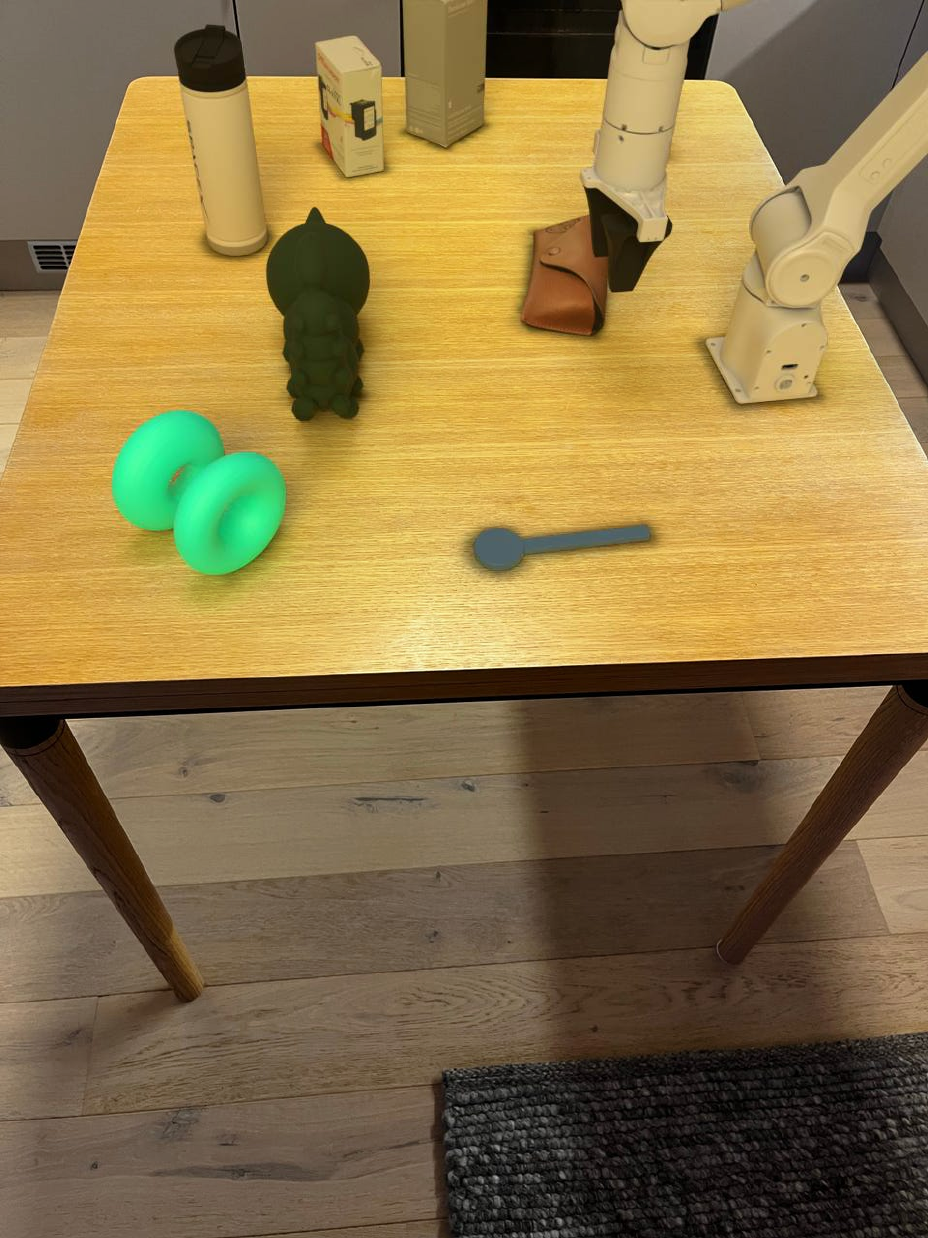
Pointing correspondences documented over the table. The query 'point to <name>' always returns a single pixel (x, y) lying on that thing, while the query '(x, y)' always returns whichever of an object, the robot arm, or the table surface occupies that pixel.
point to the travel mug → (222, 139)
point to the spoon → (545, 544)
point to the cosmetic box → (444, 67)
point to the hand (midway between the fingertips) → (612, 271)
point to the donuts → (199, 491)
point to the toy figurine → (320, 314)
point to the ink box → (350, 105)
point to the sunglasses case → (566, 280)
